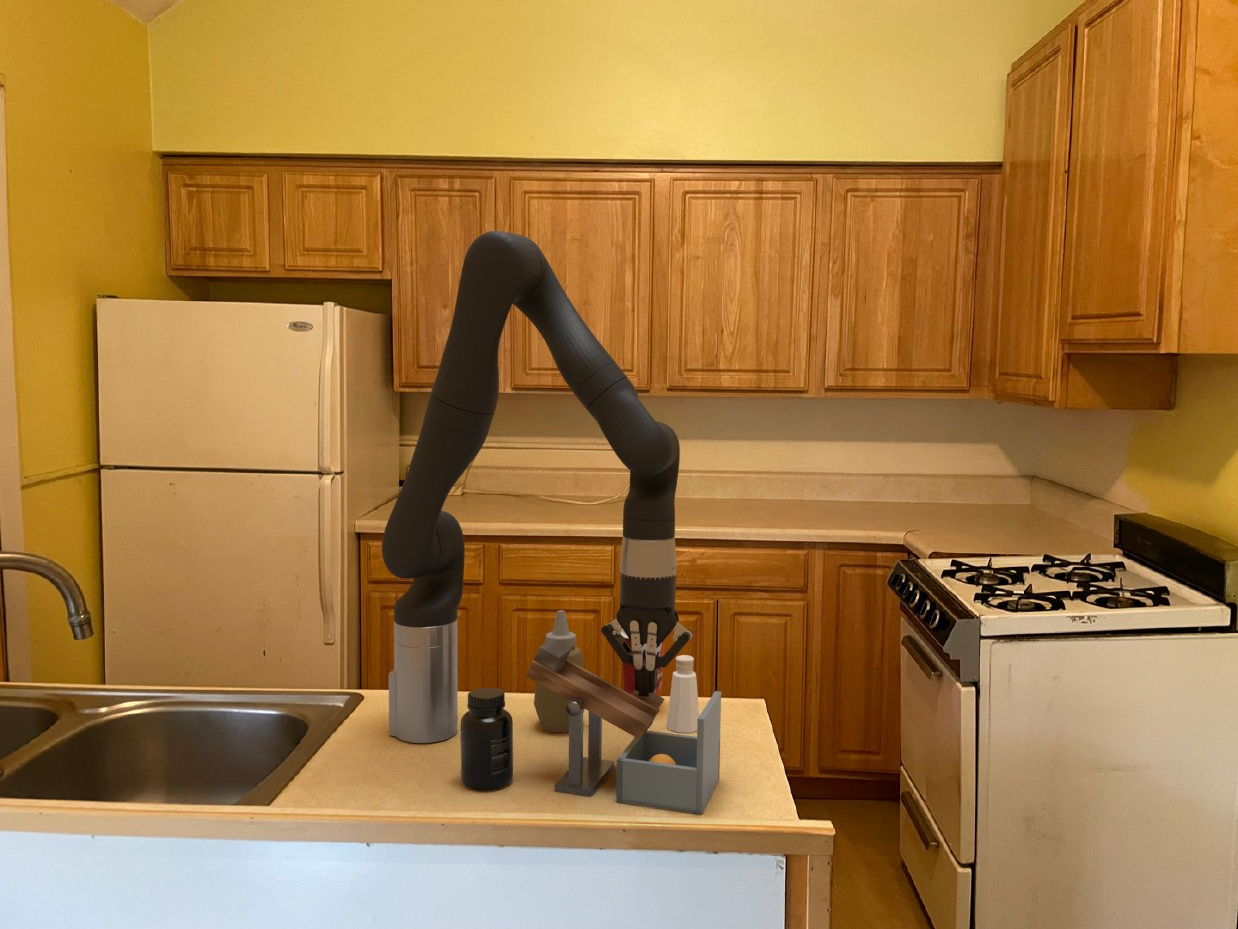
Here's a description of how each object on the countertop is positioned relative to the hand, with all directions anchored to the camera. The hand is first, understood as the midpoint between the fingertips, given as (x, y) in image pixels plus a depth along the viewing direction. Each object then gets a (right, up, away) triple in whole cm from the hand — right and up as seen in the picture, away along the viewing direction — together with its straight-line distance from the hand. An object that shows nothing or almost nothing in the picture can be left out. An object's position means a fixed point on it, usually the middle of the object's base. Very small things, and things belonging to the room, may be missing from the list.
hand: (645, 694), depth 129 cm
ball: (+2, -8, -6) cm, 11 cm away
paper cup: (0, -9, +23) cm, 25 cm away
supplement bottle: (-21, -11, -4) cm, 24 cm away
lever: (-7, +1, -1) cm, 7 cm away
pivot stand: (-8, -10, -3) cm, 14 cm away
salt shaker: (+6, -9, +16) cm, 20 cm away
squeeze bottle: (-13, -9, +16) cm, 22 cm away
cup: (+3, -11, -7) cm, 13 cm away
